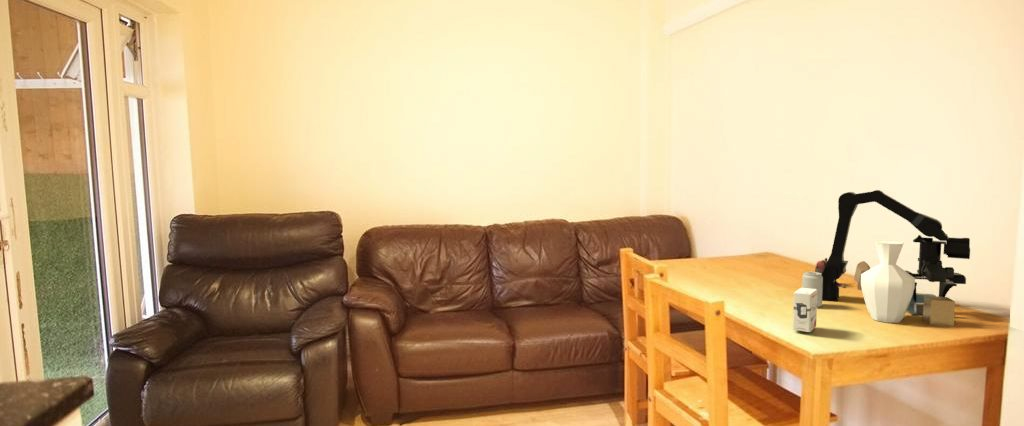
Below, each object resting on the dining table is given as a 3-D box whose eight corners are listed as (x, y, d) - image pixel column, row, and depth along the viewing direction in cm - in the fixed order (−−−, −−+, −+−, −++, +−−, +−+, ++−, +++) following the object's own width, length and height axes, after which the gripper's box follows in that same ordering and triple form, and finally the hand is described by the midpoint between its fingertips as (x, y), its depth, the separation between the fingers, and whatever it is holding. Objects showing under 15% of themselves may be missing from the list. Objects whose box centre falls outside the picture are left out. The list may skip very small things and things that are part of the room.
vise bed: (912, 315, 181) (912, 313, 181) (896, 304, 196) (896, 302, 196) (952, 318, 177) (952, 316, 177) (932, 306, 192) (932, 304, 192)
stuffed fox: (846, 291, 216) (847, 261, 215) (814, 288, 222) (815, 259, 221) (846, 288, 223) (847, 258, 222) (814, 285, 228) (815, 256, 228)
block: (930, 325, 169) (931, 300, 169) (922, 320, 175) (923, 295, 174) (953, 327, 167) (954, 301, 167) (945, 321, 173) (946, 297, 173)
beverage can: (819, 304, 196) (820, 271, 195) (823, 309, 190) (824, 274, 189) (799, 303, 198) (800, 270, 197) (803, 307, 192) (804, 273, 191)
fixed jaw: (916, 313, 180) (916, 304, 180) (913, 312, 182) (914, 302, 182) (952, 316, 177) (953, 306, 177) (950, 314, 179) (950, 304, 179)
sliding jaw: (876, 301, 196) (877, 292, 196) (874, 300, 198) (875, 291, 198) (935, 305, 190) (935, 295, 190) (932, 303, 193) (932, 294, 192)
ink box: (799, 323, 173) (800, 286, 172) (816, 326, 170) (818, 288, 169) (792, 329, 166) (793, 291, 165) (810, 332, 163) (811, 293, 162)
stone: (856, 292, 216) (867, 295, 214) (862, 269, 214) (873, 271, 212) (852, 280, 232) (862, 282, 230) (857, 259, 230) (868, 261, 228)
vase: (914, 328, 167) (918, 246, 165) (859, 321, 174) (862, 243, 172) (910, 317, 179) (914, 241, 177) (859, 311, 186) (862, 238, 184)
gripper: (905, 258, 178) (903, 306, 180) (975, 261, 172) (972, 310, 174) (893, 253, 189) (891, 298, 190) (959, 256, 183) (956, 302, 184)
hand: (927, 302), depth 184 cm, fingers open, 7 cm apart
